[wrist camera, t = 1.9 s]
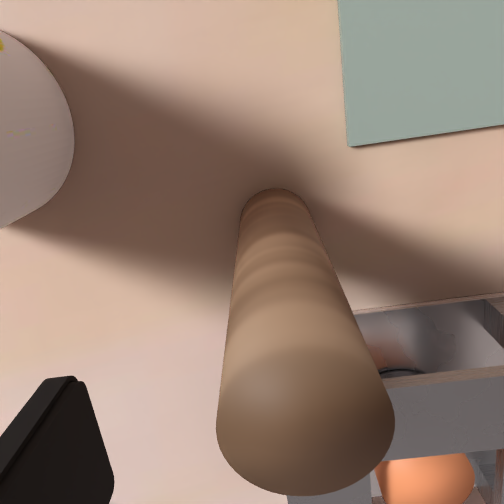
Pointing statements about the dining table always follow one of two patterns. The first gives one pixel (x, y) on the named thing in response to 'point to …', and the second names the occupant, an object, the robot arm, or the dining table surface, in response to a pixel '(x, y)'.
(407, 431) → the guard cage
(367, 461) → the brown wooden rod
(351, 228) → the dining table surface
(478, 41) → the mat
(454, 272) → the dining table surface
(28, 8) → the dining table surface
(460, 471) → the breaker plunger
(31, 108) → the cup
